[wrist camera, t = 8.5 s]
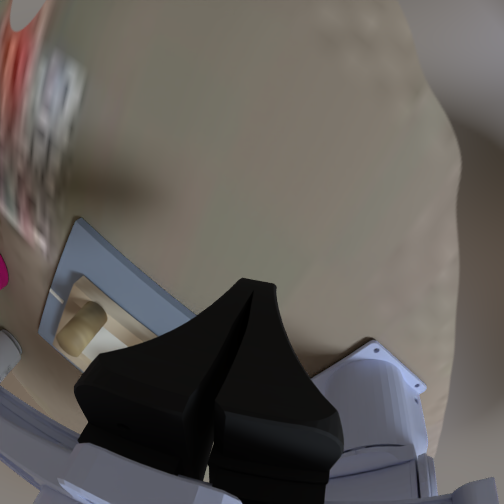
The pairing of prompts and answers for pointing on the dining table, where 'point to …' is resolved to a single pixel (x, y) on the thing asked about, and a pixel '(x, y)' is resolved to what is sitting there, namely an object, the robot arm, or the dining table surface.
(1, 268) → the pepper mill
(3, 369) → the energy drink can
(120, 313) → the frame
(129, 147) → the dining table surface
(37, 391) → the dining table surface
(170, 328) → the board
